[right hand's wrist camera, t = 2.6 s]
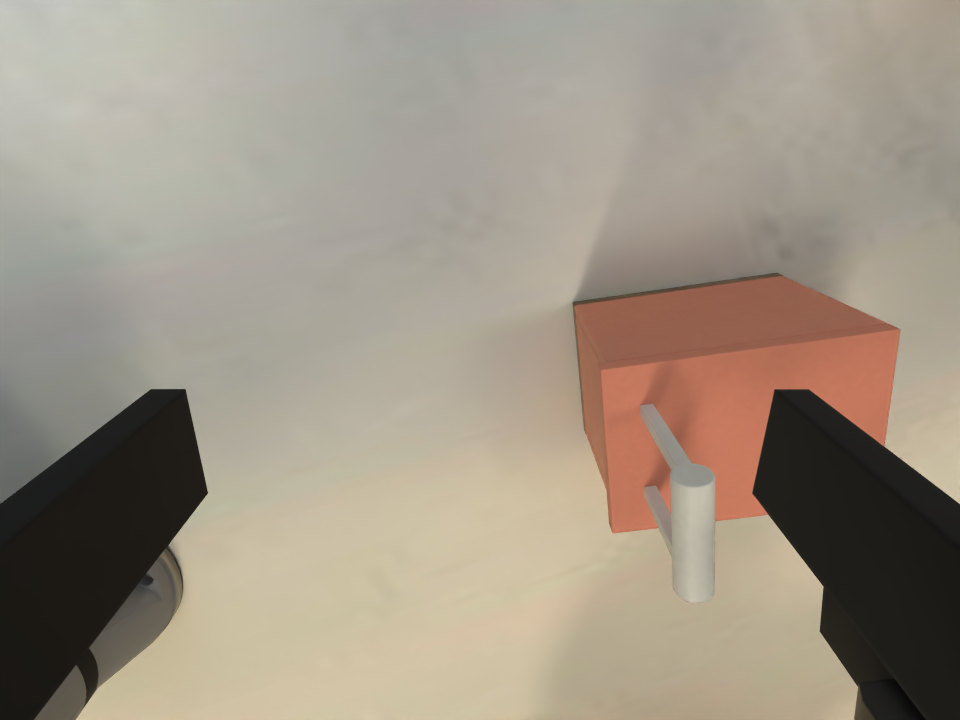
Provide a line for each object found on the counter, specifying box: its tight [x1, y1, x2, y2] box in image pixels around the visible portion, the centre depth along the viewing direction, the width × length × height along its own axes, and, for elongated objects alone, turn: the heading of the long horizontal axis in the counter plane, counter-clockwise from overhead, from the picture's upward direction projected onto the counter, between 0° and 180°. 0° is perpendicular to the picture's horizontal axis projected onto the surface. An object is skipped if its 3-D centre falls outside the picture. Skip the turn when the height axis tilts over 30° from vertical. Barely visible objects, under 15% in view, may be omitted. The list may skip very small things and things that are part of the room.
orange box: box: [597, 324, 900, 603], centre depth 26 cm, size 15×10×8 cm
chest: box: [573, 273, 887, 490], centre depth 35 cm, size 14×10×11 cm
